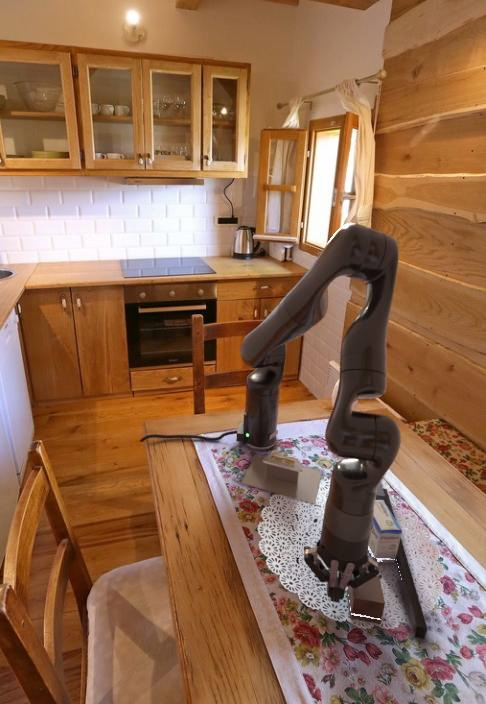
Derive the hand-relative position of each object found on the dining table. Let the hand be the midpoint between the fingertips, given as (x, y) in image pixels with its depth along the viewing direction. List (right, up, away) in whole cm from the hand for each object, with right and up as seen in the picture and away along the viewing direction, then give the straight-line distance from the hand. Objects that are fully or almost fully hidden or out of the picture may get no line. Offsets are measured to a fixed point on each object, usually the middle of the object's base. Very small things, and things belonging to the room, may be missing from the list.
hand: (334, 597), depth 72 cm
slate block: (+14, +6, +23) cm, 28 cm away
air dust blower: (+19, +18, +57) cm, 63 cm away
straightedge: (+16, +2, +10) cm, 19 cm away
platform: (-4, +9, +31) cm, 32 cm away
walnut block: (+5, -2, 0) cm, 5 cm away
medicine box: (+12, +2, +12) cm, 17 cm away
